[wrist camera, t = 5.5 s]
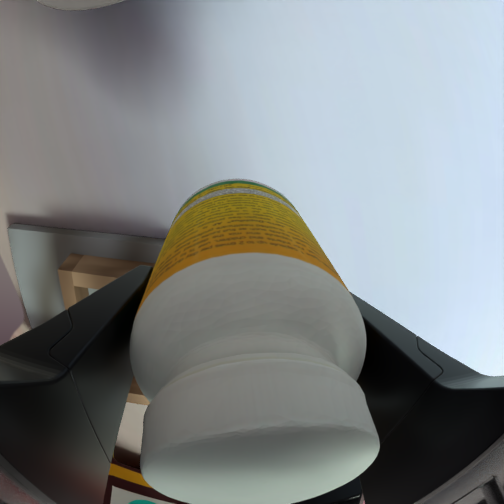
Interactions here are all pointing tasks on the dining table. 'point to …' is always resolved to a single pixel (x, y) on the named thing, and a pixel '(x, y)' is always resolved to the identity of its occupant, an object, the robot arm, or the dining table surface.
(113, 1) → the dish
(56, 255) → the board
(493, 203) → the dining table surface
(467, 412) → the robot arm
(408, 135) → the dining table surface
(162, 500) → the decorative lantern
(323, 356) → the supplement bottle
